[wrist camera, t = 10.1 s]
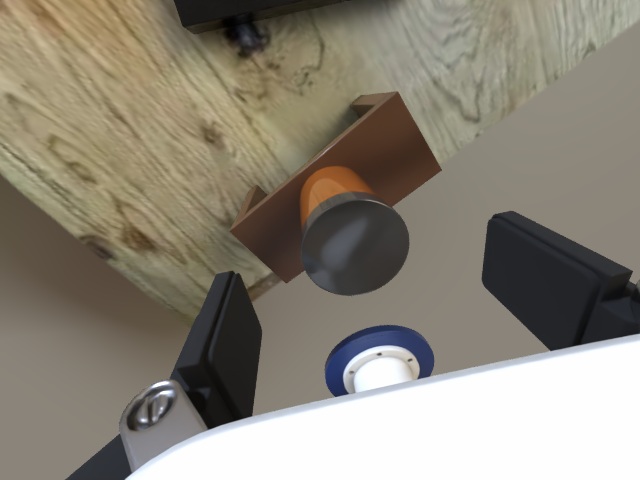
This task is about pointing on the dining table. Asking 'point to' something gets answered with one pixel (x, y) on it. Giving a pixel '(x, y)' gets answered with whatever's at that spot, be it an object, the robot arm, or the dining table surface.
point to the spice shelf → (345, 151)
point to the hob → (238, 11)
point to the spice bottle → (349, 233)
